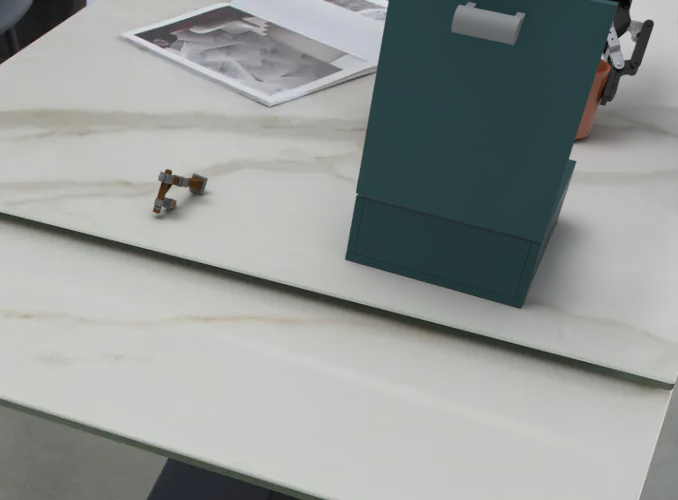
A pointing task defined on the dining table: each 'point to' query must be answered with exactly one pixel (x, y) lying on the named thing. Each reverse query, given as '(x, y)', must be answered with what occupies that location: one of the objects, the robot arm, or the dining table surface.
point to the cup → (594, 99)
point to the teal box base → (449, 248)
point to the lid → (481, 106)
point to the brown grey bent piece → (168, 180)
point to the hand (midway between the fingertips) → (572, 96)
